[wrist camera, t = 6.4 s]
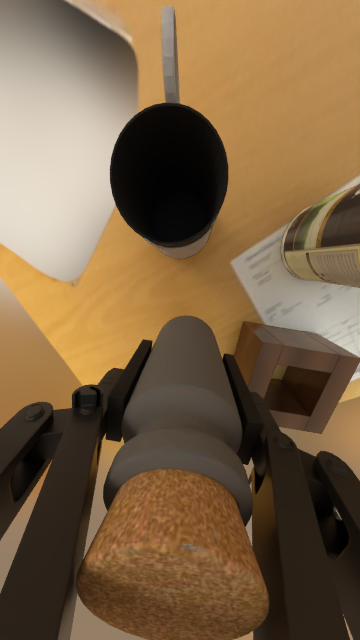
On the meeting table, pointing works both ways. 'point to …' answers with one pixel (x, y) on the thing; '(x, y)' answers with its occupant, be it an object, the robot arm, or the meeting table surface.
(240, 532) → the bottle
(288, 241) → the coffee can
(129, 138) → the glass holder
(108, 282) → the meeting table surface
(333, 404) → the bottle stand
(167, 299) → the meeting table surface
